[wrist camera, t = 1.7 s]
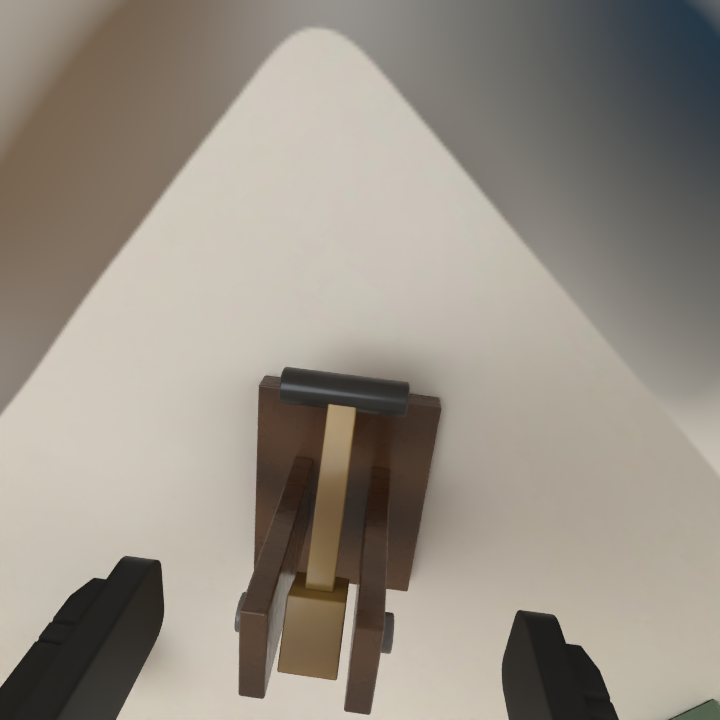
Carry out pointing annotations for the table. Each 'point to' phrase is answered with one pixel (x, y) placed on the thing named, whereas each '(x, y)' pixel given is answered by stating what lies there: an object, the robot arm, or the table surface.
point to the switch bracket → (358, 536)
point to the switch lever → (328, 514)
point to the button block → (702, 712)
